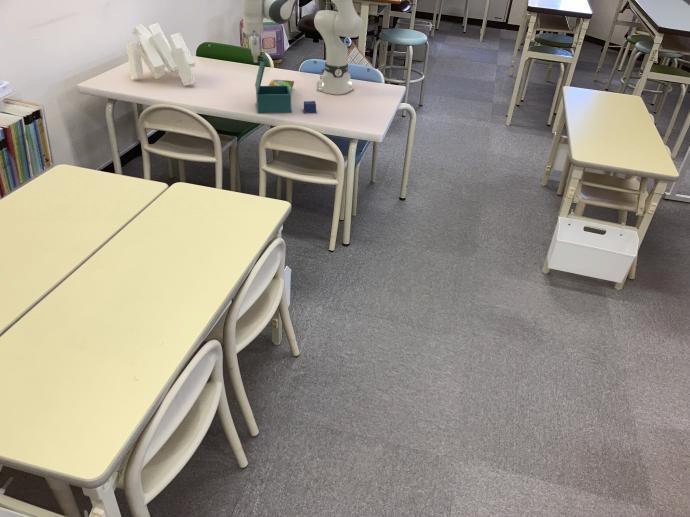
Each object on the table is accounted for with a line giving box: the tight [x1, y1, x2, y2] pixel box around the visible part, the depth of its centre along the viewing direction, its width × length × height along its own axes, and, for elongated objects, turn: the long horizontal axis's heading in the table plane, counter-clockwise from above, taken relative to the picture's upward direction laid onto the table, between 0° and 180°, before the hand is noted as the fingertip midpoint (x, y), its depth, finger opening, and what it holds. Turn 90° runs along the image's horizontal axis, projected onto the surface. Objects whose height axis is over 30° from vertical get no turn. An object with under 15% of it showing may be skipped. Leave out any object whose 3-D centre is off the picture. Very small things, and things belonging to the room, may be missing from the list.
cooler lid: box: [254, 50, 267, 94], centre depth 256 cm, size 16×13×5 cm
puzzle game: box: [268, 79, 295, 93], centre depth 283 cm, size 12×5×20 cm
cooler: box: [255, 85, 292, 114], centre depth 266 cm, size 16×13×9 cm
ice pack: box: [302, 100, 317, 114], centre depth 266 cm, size 4×6×4 cm
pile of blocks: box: [125, 22, 196, 87], centre depth 287 cm, size 35×30×35 cm
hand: (255, 60), depth 253 cm, fingers closed on cooler lid, 5 cm apart
